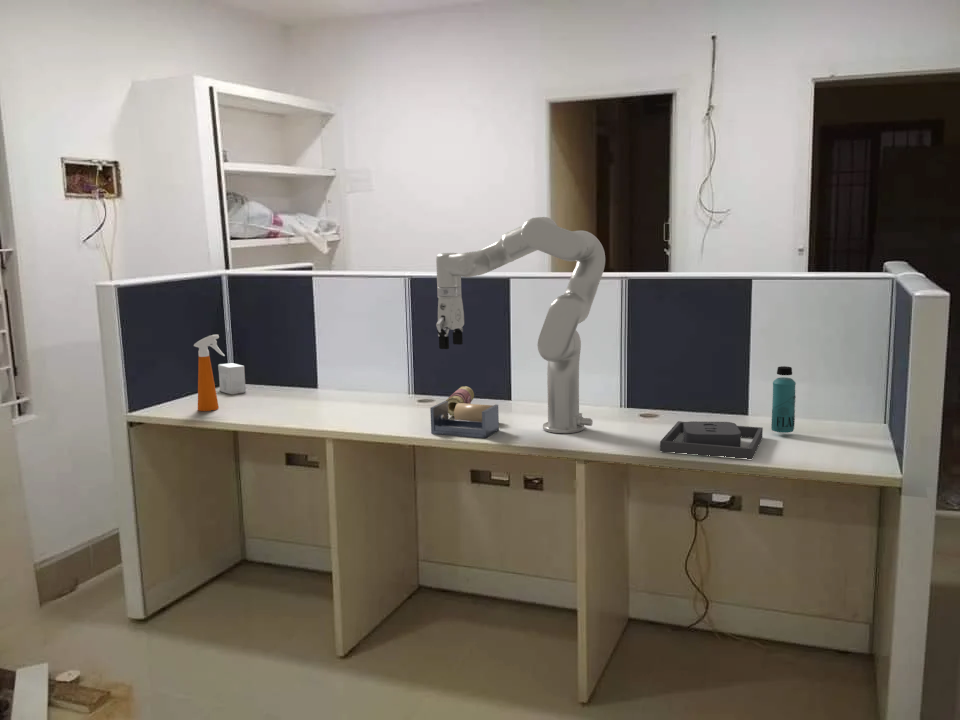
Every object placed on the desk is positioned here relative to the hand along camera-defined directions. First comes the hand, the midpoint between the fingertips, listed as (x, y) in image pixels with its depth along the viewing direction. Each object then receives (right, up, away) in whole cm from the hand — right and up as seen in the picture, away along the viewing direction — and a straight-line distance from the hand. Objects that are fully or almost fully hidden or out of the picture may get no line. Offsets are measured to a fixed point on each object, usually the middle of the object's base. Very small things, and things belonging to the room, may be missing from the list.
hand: (451, 346), depth 273 cm
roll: (+8, -24, 0) cm, 25 cm away
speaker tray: (+74, -28, -32) cm, 86 cm away
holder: (+5, -26, -11) cm, 29 cm away
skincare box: (-86, -17, +60) cm, 106 cm away
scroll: (+3, -22, +17) cm, 28 cm away
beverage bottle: (+96, -26, -24) cm, 103 cm away
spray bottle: (-84, -22, +30) cm, 92 cm away
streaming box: (+74, -28, -32) cm, 85 cm away
